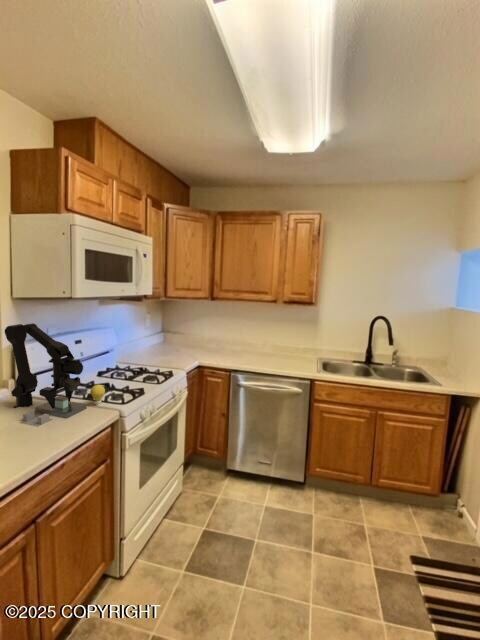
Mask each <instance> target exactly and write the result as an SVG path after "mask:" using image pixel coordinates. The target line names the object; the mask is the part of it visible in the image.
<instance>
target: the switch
mask: <svg viewBox="0 0 480 640" xmlns="http://www.w3.org/2000/svg"><path fill="white" fill-rule="evenodd" d="M87 408H88V407H87V404H86V403H81V402H76V401H75V402H74V401H70V402H68V407H66V408H64V409H62V408H57V407H55V408H54V409H53V408H52V407H51V406H50V404H49V402H48V401H47V402H46V403H43V404H41V405H38V406H36V407H35V408H34V409H35V411H34V412H35V414H40V415H41V414H42V415H43V414H49V416H52V417H58V418H63V419H69V418H71V417H73V416H75V415H77V414H79V413H82V412H83V411H85V410H87Z"/></svg>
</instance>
